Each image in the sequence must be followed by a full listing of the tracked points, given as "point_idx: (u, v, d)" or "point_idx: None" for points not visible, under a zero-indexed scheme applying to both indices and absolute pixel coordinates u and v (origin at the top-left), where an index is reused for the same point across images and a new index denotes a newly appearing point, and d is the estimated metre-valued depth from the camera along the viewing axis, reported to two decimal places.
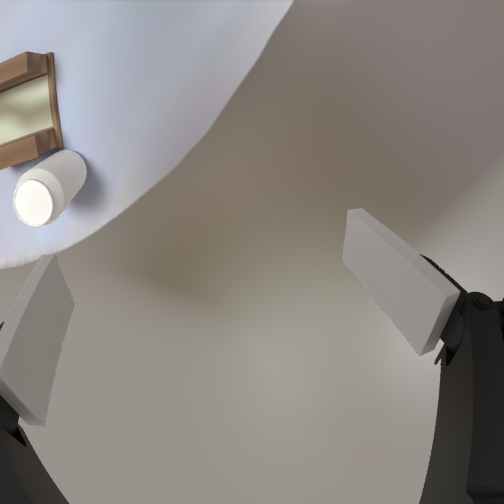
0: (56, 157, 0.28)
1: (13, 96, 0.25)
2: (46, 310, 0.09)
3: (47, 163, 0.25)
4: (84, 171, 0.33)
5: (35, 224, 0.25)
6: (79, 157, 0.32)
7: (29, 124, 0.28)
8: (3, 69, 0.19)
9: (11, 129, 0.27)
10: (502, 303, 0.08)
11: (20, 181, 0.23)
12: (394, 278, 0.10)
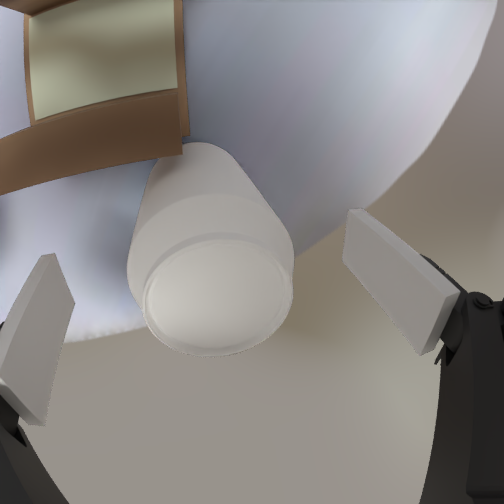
0: (217, 159, 0.14)
1: (78, 18, 0.11)
2: (46, 310, 0.09)
3: (225, 176, 0.11)
4: None
5: (214, 351, 0.11)
6: None
7: (116, 78, 0.14)
8: None
9: (66, 87, 0.13)
10: (502, 303, 0.08)
11: (165, 233, 0.09)
12: (394, 278, 0.10)
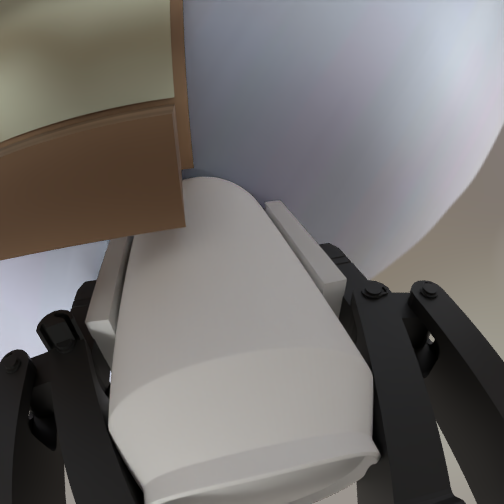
0: (240, 220, 0.09)
1: (36, 3, 0.06)
2: None
3: (267, 274, 0.06)
4: None
5: None
6: (260, 205, 0.13)
7: (84, 85, 0.09)
8: None
9: (19, 101, 0.08)
10: (409, 299, 0.08)
11: (171, 435, 0.04)
12: None
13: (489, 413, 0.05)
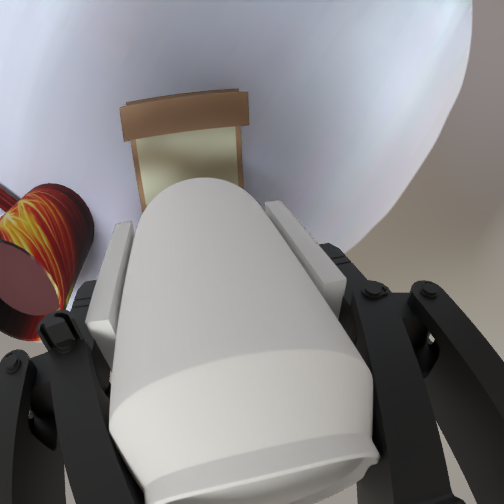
0: (240, 221, 0.09)
1: (173, 140, 0.25)
2: None
3: (267, 276, 0.06)
4: None
5: None
6: None
7: None
8: (201, 108, 0.19)
9: None
10: (409, 299, 0.08)
11: (172, 436, 0.04)
12: None
13: (489, 413, 0.05)
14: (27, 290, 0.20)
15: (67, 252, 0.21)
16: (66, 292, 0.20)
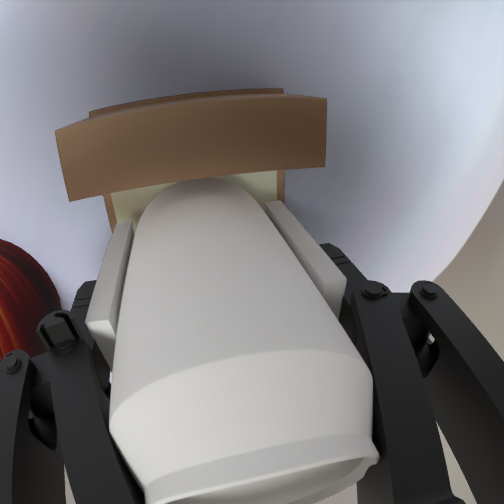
0: (240, 221, 0.09)
1: None
2: None
3: (267, 276, 0.06)
4: None
5: None
6: (260, 206, 0.13)
7: None
8: (230, 129, 0.09)
9: None
10: (409, 299, 0.08)
11: (172, 436, 0.04)
12: None
13: (489, 413, 0.05)
14: None
15: None
16: None
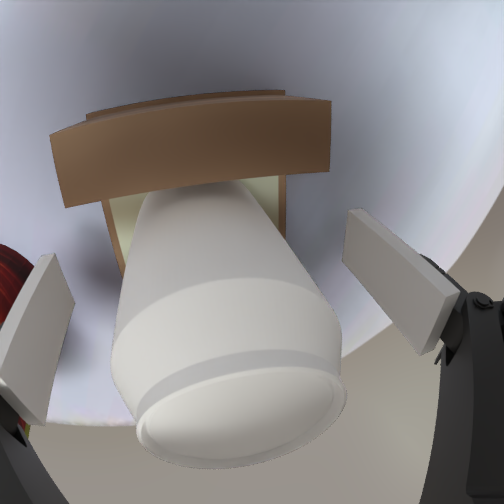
0: (228, 197, 0.10)
1: None
2: (46, 310, 0.09)
3: (246, 233, 0.08)
4: None
5: (235, 461, 0.07)
6: (249, 191, 0.14)
7: None
8: (231, 132, 0.09)
9: None
10: (502, 303, 0.08)
11: (162, 347, 0.05)
12: (394, 278, 0.10)
13: None
14: None
15: None
16: None
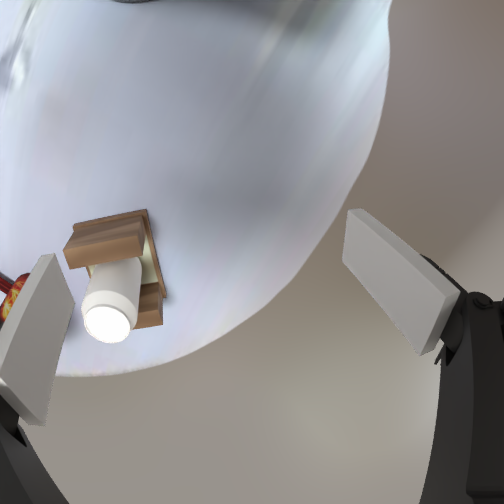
0: (115, 265, 0.32)
1: None
2: (46, 310, 0.09)
3: (111, 279, 0.29)
4: (141, 270, 0.36)
5: (110, 341, 0.28)
6: None
7: None
8: (110, 248, 0.30)
9: None
10: (502, 303, 0.08)
11: (89, 303, 0.27)
12: (394, 278, 0.10)
13: None
14: None
15: None
16: None
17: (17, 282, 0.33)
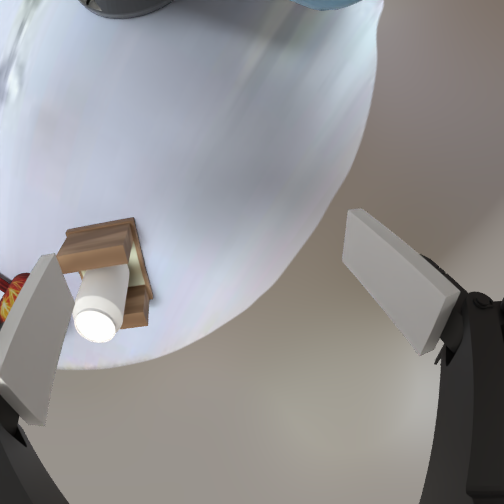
0: (103, 271, 0.34)
1: None
2: (46, 310, 0.09)
3: (99, 284, 0.31)
4: (128, 274, 0.38)
5: (98, 340, 0.31)
6: None
7: None
8: (99, 256, 0.32)
9: None
10: (502, 303, 0.08)
11: (78, 307, 0.29)
12: (394, 278, 0.10)
13: None
14: None
15: None
16: None
17: (14, 281, 0.35)
